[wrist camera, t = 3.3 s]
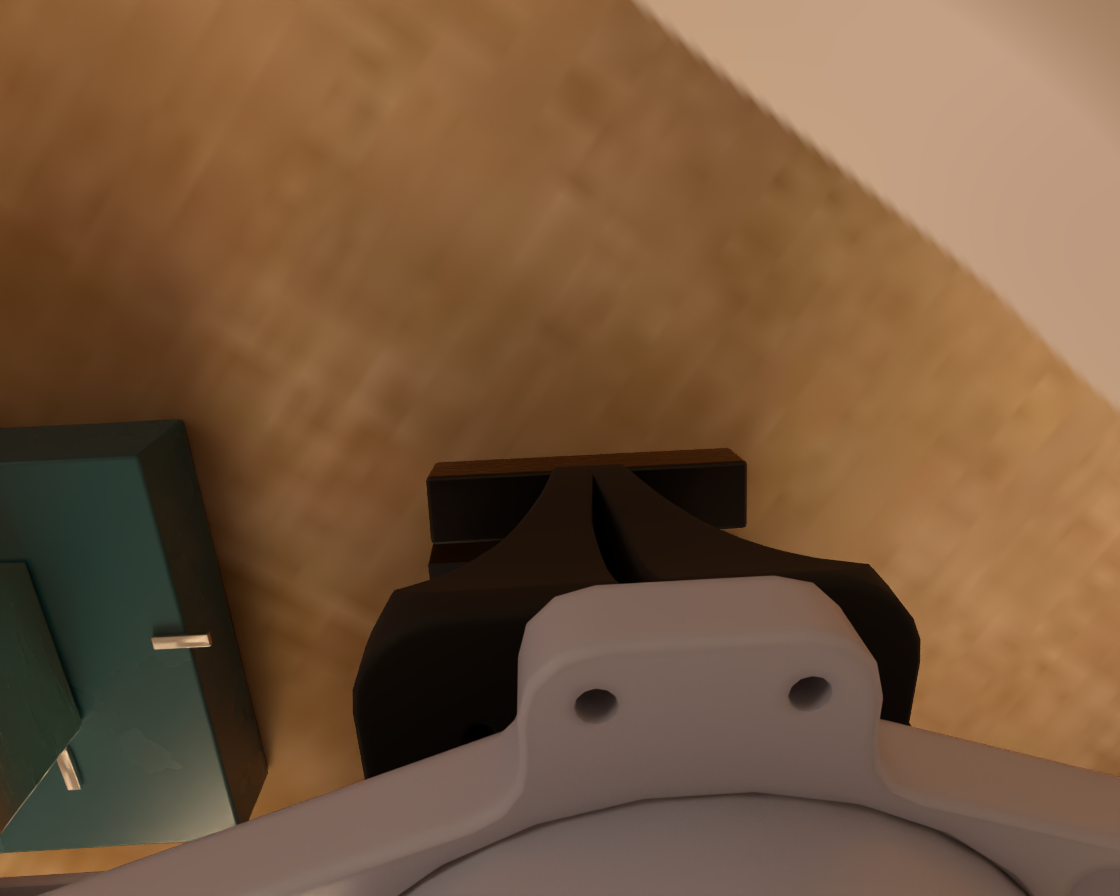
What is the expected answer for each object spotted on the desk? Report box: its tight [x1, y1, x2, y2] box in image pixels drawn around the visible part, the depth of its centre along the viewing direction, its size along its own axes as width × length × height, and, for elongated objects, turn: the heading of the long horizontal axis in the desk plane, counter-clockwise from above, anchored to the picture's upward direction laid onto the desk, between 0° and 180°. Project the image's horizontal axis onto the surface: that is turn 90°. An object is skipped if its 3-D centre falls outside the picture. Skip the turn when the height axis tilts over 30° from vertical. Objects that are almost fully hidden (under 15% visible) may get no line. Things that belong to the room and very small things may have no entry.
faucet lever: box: [426, 448, 747, 544], centre depth 16 cm, size 11×6×2 cm, turn 2°
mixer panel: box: [0, 420, 268, 853], centre depth 20 cm, size 12×11×3 cm
